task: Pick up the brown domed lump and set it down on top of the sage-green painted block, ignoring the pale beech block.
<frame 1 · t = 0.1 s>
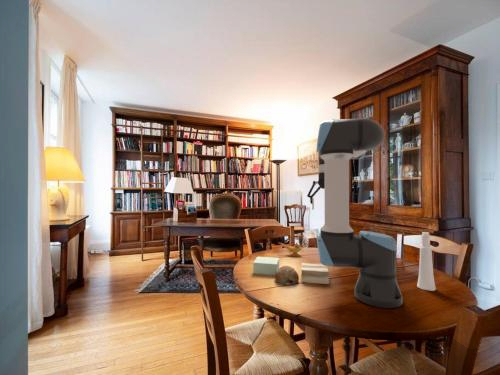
hand: (325, 209, 138), 28 cm above the table, fingers open, 13 cm apart
beech block: (314, 278, 107), on the table
green block: (266, 270, 117), on the table
magic lamp: (292, 255, 148), on the table
brown domed lump: (286, 281, 105), on the table
cosmetic bottle: (426, 288, 97), on the table
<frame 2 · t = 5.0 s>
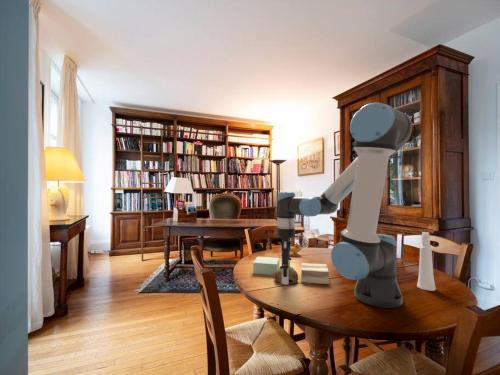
hand: (286, 279, 105), 0 cm above the table, fingers closed on brown domed lump, 10 cm apart
brown domed lump: (285, 280, 105), on the table, touching gripper
everything else where it was.
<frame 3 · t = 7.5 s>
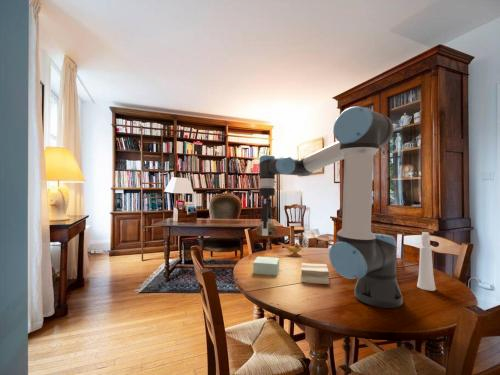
hand: (266, 233, 118), 18 cm above the table, fingers closed on brown domed lump, 10 cm apart
brown domed lump: (266, 234, 118), point 17 cm above the table, touching gripper
everything else where it was.
when the fingers open (7 cm above the table, at t = 10.3 s): brown domed lump drops 2 cm, resting on green block.
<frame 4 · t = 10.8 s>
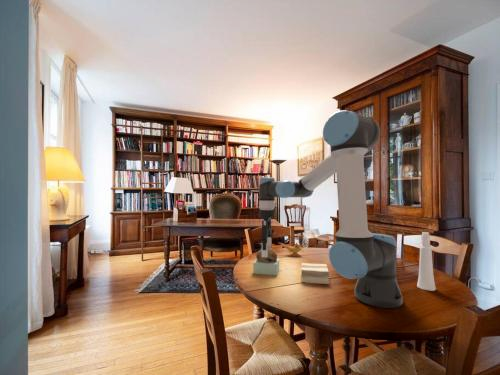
hand: (266, 253, 118), 8 cm above the table, fingers open, 13 cm apart
brown domed lump: (266, 260, 118), point 5 cm above the table, touching green block
everything else where it was.
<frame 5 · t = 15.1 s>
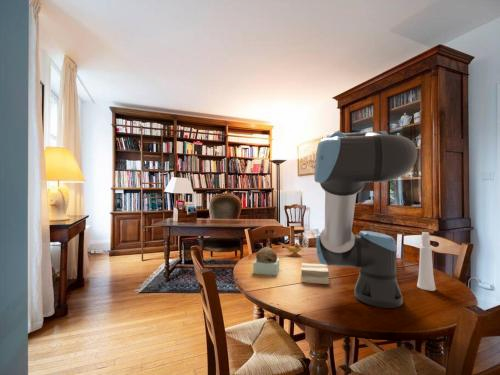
hand: (335, 217, 107), 27 cm above the table, fingers open, 13 cm apart
nothing on the table moved.
at the end: brown domed lump inside the target area on the green block (0.4 cm from its centre), point 4.8 cm above the green block's base; brown domed lump touching green block; the gripper is holding nothing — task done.
